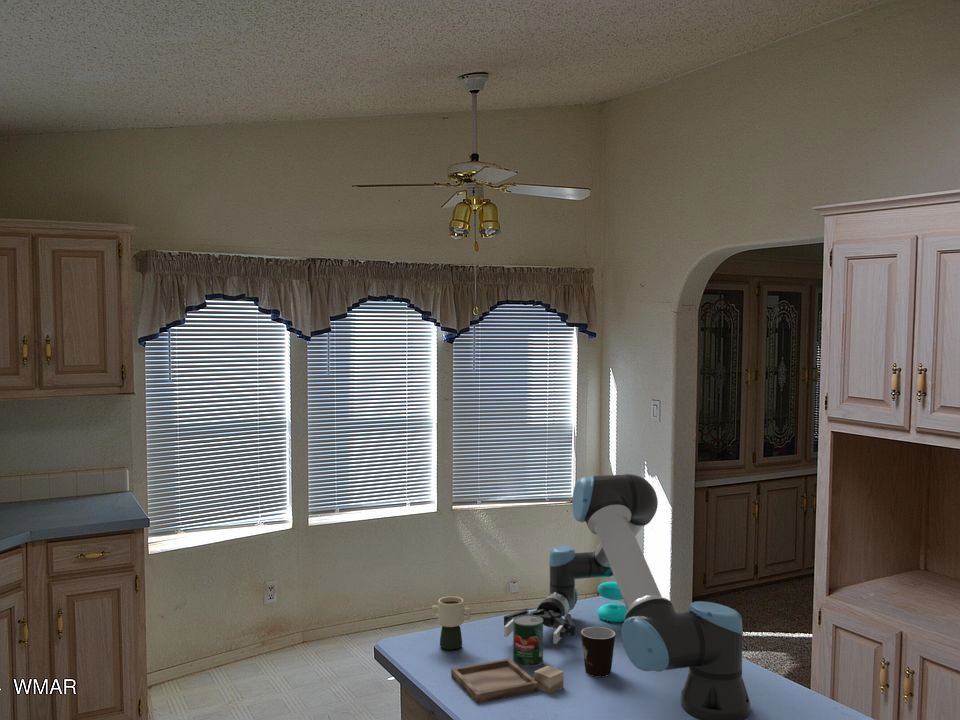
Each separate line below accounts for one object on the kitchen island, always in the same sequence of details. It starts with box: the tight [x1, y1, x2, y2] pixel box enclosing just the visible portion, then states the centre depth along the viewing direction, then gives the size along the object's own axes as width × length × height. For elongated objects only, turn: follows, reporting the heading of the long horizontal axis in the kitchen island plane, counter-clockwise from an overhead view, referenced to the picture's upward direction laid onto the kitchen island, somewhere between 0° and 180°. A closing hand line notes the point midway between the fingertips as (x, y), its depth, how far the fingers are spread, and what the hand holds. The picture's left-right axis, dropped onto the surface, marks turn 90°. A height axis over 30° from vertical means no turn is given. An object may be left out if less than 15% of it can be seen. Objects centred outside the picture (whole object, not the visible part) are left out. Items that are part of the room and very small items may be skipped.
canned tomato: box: [512, 615, 544, 668], centre depth 209 cm, size 8×8×11 cm
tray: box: [450, 658, 539, 704], centre depth 196 cm, size 16×16×2 cm
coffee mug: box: [580, 626, 616, 677], centre depth 204 cm, size 12×9×10 cm
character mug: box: [431, 595, 471, 650], centre depth 219 cm, size 11×7×13 cm, turn 78°
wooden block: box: [533, 665, 564, 694], centre depth 194 cm, size 5×5×4 cm
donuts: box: [597, 581, 628, 623], centre depth 242 cm, size 10×10×10 cm
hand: (529, 635), depth 211 cm, fingers open, 13 cm apart
